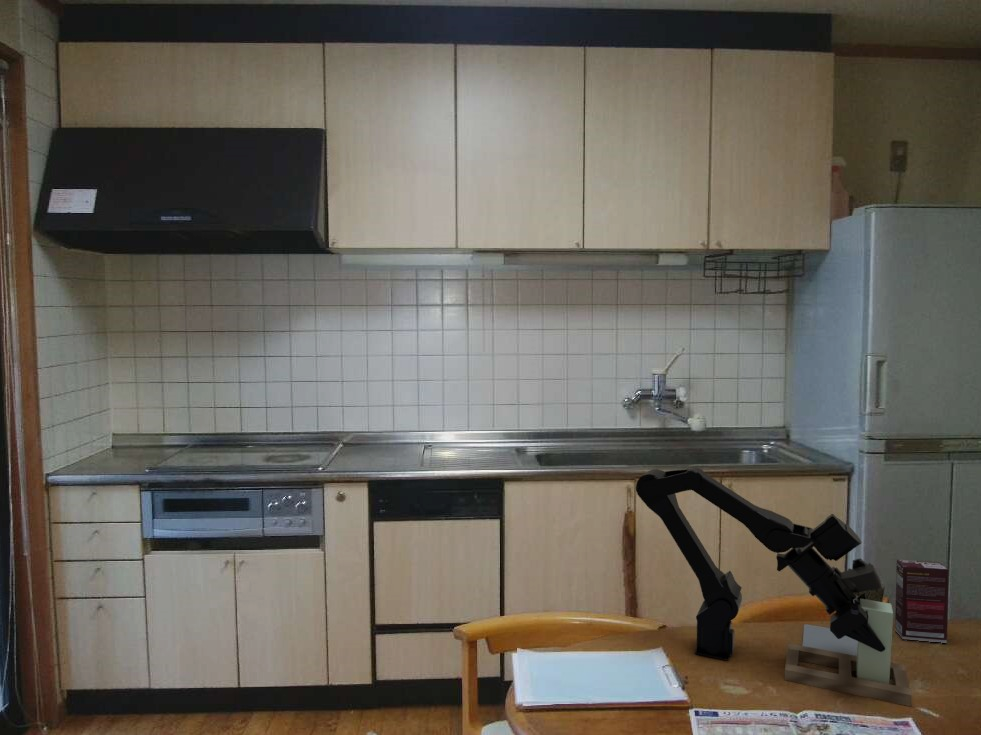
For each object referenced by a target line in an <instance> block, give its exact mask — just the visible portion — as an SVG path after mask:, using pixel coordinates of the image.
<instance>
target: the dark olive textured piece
mask: <svg viewBox="0 0 981 735" xmlns="http://www.w3.org/2000/svg"><path fill="white" fill-rule="evenodd" d="M885 588H886V586H885V585H884V586H883V587H882V586H881V588H879V589H876V590H872V589H871V590H867V591H863V592H859V593H855V594H856V595H857V596H858V597H859V596H860V595H862V594H863V593H865V595H866V600H872V601H878V602H883V601H884V595H885V593H884V592H885Z"/></svg>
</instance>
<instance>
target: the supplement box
mask: <svg viewBox="0 0 981 735" xmlns="http://www.w3.org/2000/svg"><path fill="white" fill-rule="evenodd" d="M895 569H896V570H895V571H896V573H895V574H896V575H895V576H896V577H895V578H896V579H895V612H894V613H895V616H894V617H895V618H894V619H895V620H894V621H895V622H894V632H895V631H896V632H897V633H898V634H899V635H900V636H901V637H902V639H910V640H919V641H929V642H928V643H930V642H941V643H940V644H942V643H948V622H949V621H948V620H949V619H948V617H949V572H950V571H949V570H950V569H949V568H948V567H946V566H945V565H944V564H942V563H941V562H938V561H926V560H924V561H923V560H911V559H909V560H908V559H896V568H895ZM896 632H895V633H896ZM897 633H896V634H897ZM898 634H897V635H898ZM899 635H898V636H899ZM900 636H899V637H900ZM902 639H901V640H902ZM919 641H918V642H919Z"/></svg>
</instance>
